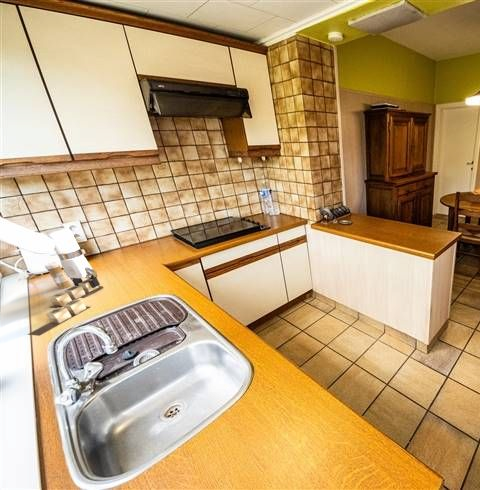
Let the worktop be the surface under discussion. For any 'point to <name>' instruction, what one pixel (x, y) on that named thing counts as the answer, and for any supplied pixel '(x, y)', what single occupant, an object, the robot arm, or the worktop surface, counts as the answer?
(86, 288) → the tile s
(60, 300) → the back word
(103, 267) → the worktop surface
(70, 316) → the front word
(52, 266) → the sprinkles bottle
